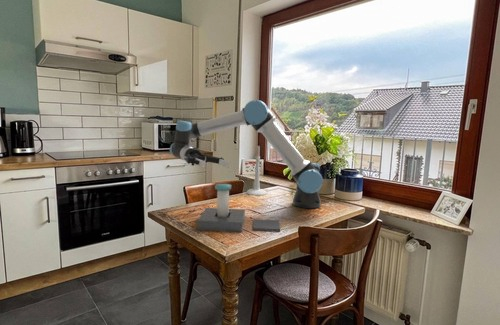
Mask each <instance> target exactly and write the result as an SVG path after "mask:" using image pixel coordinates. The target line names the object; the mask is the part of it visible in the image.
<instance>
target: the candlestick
mask: <svg viewBox="0 0 500 325" xmlns="http://www.w3.org/2000/svg"><path fill="white" fill-rule="evenodd" d="M255 148H256V151H255V155H256V156H254V158H255V171H254V172H255V173H254V183H253V188H250V189H248V190H246V192H245V193H246V194H247V195H248V194H250V196H253V195H255V197H256V196H257V197H258V196H259V197H262V196H265V195H267V194H268V193H267V191H266V190H264V189H262V188H260V186H261V185H260V160H261V156H260V153H261V152H260V145H256V147H255ZM261 195H262V196H261Z"/></svg>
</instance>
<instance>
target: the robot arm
mask: <svg viewBox="0 0 500 325" xmlns="http://www.w3.org/2000/svg"><path fill="white" fill-rule="evenodd" d="M244 125H245V126H247V127H248V126H251V127H253V130H255V132H256V133H261V134H262V135H263V137H264V138H265V139H266V141H267V142H268V143H269V144H270V146H271V147H272V148H273V149H274V151H275V152H276V153H277V155H279V157H280V158H281V159H282V161H283V162H284V164H285V165H286V166H287V167H288V168H289V170H290V176H291V177H292V178H293V179H294V181H295V182H296V190H295V193H294V195H293V198H292V205H293V206H295V207H297V208H301V209H303V208H304V209H317V208H320V207H321V205H322V204H321V198H320V193H319V190H320V189H321V188H322V185H323V181H324V179H323V176H322V174H321V173H320V170H321V166H320V164H319V163H313V162H312V161H310V160H309V159H308V160H307V159H305V158H304V156H303V155H302V154H301V153H300V152H299V150H298V149H297V148H296V146H295V145H294V144H293V142H291V140H290V139H289V138H288V137H287V135H286V134H285V132H284V131H283V130H282V128H280V126H279V125H278V123H276V116H275V115H274V113H273V112H272V111H271V110H270V108H269V107H268V105H267V104H266V103H265V102H264V101H262V100H260V99H252V100H250V101H248V102H247V103H246V104H245V106H244V107H242V108H241V110H239V111H236V112H231V113H228V114H225V115H219V116H217V117H214V118H211V119H206V120H203V121H199V122H196V123H195V122H194V123H192V122H191V121H185V120H177V122H176V126H175V136H174V140H173V143H171V145H170V147H169V153H170V155H171V156H173V157H175V158H177V159H180V160H182V161H185V163H187V164H188V165H189V164H190V165H191V166H192V167H193V166H198V167H201V168H203V169H205V168H206V163H212V164H218V166H219V165H220V166H221V167H225V168H229V166H230V161H228V160H225V159H224V158H223V157H218V156H213V155H208V154H203V153H202V152H201V151H200V150H199V149H197V148H195V147H192V146H190V141H191V140H190V139H196V138H199V137H202V136H207V135H209V134H210V135H211V134H215V133H216V132H217V133H218V132H221V131H225V130H229V129H233V128H237V127H240V126H244Z"/></svg>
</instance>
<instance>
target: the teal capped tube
mask: <svg viewBox="0 0 500 325" xmlns="http://www.w3.org/2000/svg"><path fill="white" fill-rule="evenodd" d="M214 185H215V186H214V188H215V190H217V192H216V199H217V200H216V208H217V217H229V209H230V190H231V189H232V184H230V183H216V184H214Z"/></svg>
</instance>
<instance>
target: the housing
mask: <svg viewBox="0 0 500 325" xmlns="http://www.w3.org/2000/svg"><path fill="white" fill-rule="evenodd" d="M245 218H246V209H244V208H243V209H242V208H241V209H240V208H229V217H217V207H205V209H204V210H203V212H202V213H201V214H200V217H199V218H198V219H197V231H212V232H213V231H215V232H231V233H232V232H233V233H243V227H244V222H245Z"/></svg>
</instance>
